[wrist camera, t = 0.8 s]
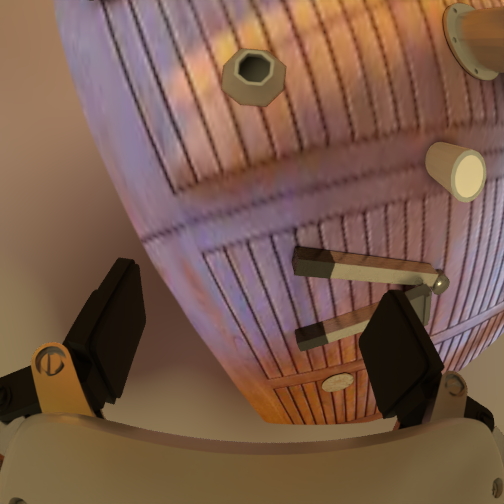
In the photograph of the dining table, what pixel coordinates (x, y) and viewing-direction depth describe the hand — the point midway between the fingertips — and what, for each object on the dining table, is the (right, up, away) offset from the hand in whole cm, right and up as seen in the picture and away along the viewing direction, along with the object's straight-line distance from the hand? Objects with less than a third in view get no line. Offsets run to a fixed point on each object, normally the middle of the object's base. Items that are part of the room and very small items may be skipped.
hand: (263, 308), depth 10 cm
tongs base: (+20, -7, +33) cm, 40 cm away
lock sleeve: (+26, -6, +29) cm, 39 cm away
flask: (0, +21, +16) cm, 27 cm away
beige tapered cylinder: (+26, +15, +20) cm, 36 cm away
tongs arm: (+17, 0, +29) cm, 33 cm away
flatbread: (+19, -28, +47) cm, 58 cm away
